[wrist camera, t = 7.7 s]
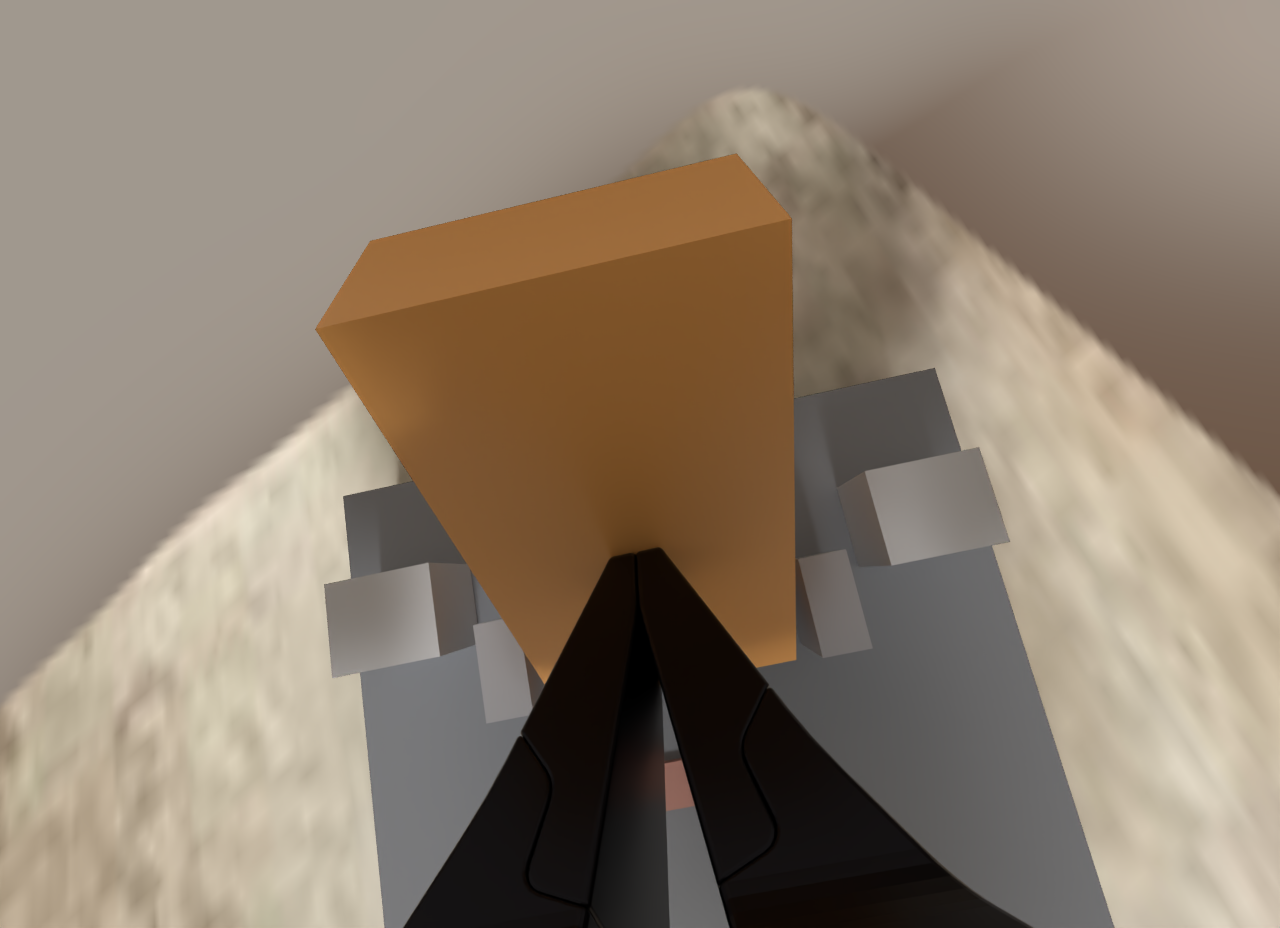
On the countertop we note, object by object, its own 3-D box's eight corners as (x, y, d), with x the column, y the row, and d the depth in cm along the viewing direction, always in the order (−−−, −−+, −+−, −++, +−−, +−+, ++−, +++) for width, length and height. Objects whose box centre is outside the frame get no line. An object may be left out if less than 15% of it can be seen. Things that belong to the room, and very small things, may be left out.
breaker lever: (796, 678, 12) (791, 219, 6) (569, 722, 13) (316, 329, 6) (766, 585, 14) (736, 153, 8) (567, 625, 14) (370, 240, 8)
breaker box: (1047, 907, 15) (1240, 1087, 10) (455, 1008, 16) (337, 1226, 11) (895, 402, 18) (980, 329, 13) (398, 508, 19) (281, 482, 13)
